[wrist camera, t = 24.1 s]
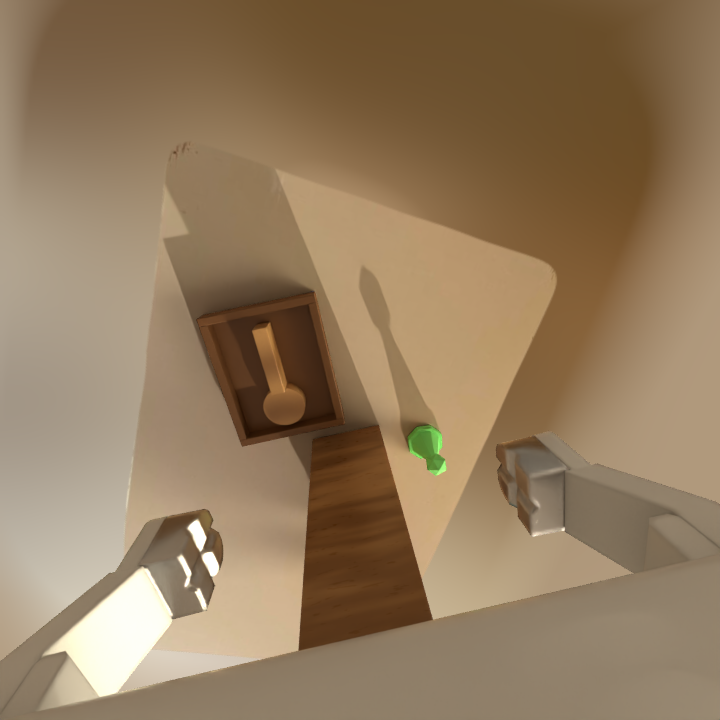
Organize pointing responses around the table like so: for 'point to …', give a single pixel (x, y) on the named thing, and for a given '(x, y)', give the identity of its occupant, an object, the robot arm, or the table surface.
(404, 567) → the stand
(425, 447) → the game piece
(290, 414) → the beech spoon
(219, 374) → the walnut tray
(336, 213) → the table surface
